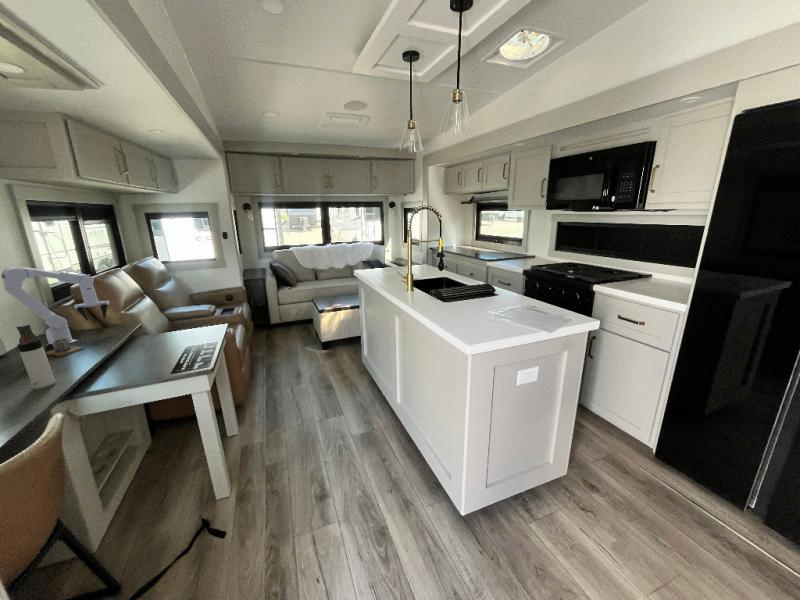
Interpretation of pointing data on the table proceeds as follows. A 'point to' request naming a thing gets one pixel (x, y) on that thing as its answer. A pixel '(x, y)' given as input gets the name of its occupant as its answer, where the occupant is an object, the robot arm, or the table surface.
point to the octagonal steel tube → (61, 345)
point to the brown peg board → (73, 349)
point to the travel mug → (36, 364)
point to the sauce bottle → (26, 333)
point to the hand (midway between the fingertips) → (96, 318)
